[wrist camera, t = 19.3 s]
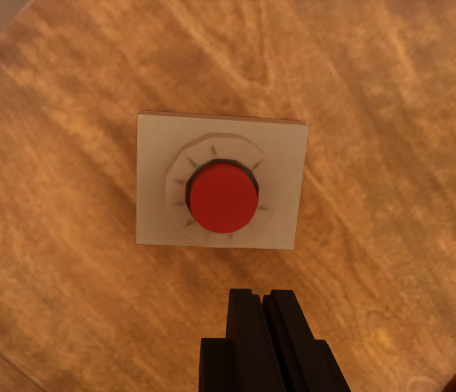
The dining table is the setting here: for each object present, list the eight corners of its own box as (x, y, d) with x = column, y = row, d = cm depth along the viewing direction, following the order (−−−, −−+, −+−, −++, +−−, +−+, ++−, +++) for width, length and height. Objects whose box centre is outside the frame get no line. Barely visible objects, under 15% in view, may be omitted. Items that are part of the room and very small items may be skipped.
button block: (139, 231, 28) (131, 256, 24) (141, 110, 26) (132, 117, 22) (286, 236, 29) (300, 262, 25) (300, 120, 27) (318, 129, 23)
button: (188, 221, 24) (188, 232, 23) (191, 160, 23) (191, 167, 22) (250, 223, 25) (254, 235, 23) (256, 164, 24) (260, 171, 22)
